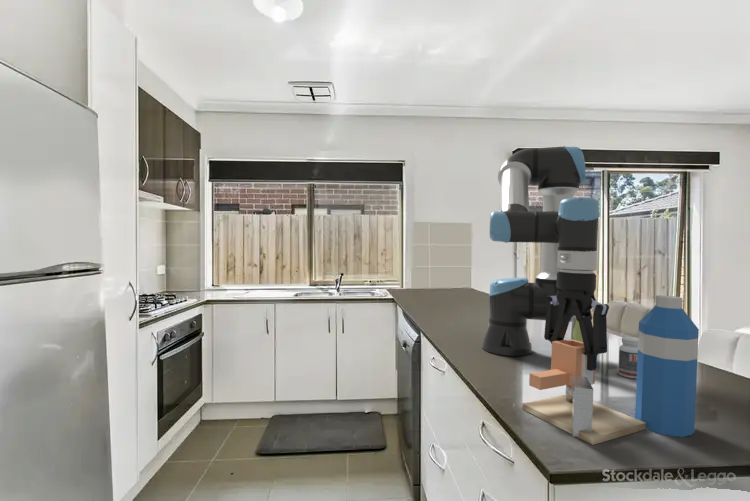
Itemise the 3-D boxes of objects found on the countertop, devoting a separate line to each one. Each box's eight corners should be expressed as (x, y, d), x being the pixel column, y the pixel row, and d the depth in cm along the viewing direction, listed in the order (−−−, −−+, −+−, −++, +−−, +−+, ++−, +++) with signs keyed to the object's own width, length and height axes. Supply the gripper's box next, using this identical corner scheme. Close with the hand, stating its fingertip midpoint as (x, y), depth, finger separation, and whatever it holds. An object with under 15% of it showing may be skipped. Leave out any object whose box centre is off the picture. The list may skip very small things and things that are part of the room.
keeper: (568, 420, 80) (569, 375, 80) (585, 423, 79) (586, 377, 79) (572, 436, 73) (574, 387, 73) (591, 439, 72) (593, 389, 72)
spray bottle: (573, 368, 113) (575, 297, 113) (592, 372, 110) (594, 299, 109) (566, 372, 110) (569, 298, 109) (585, 376, 106) (588, 300, 106)
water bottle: (623, 415, 83) (628, 293, 82) (666, 415, 84) (671, 293, 83) (659, 437, 74) (665, 300, 73) (707, 437, 74) (713, 300, 74)
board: (522, 409, 85) (522, 403, 85) (572, 398, 91) (572, 393, 91) (592, 444, 70) (593, 437, 70) (645, 429, 77) (646, 422, 77)
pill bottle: (647, 380, 105) (648, 342, 105) (623, 378, 106) (624, 340, 106) (637, 373, 111) (639, 337, 110) (614, 371, 112) (616, 335, 112)
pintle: (562, 399, 87) (563, 375, 87) (570, 398, 88) (571, 374, 88) (572, 403, 85) (573, 379, 85) (580, 402, 86) (581, 377, 86)
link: (546, 392, 79) (548, 352, 79) (523, 382, 85) (524, 344, 84) (594, 383, 85) (596, 345, 85) (569, 374, 91) (571, 339, 90)
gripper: (528, 268, 93) (525, 368, 94) (607, 275, 76) (602, 398, 76) (551, 268, 96) (548, 364, 97) (632, 275, 79) (627, 392, 80)
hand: (572, 379), depth 87 cm, fingers closed on link, 6 cm apart
